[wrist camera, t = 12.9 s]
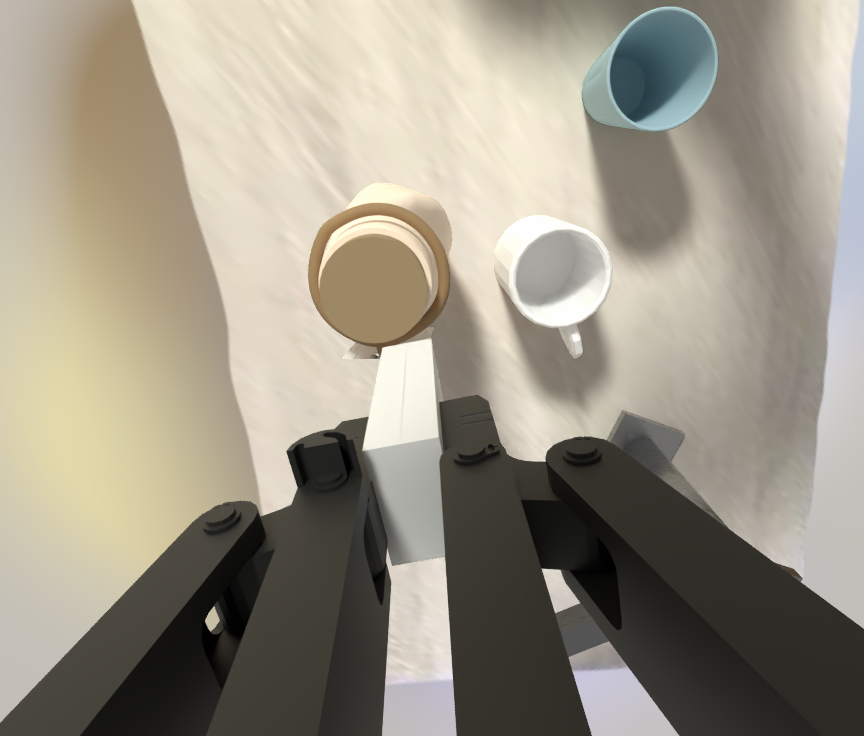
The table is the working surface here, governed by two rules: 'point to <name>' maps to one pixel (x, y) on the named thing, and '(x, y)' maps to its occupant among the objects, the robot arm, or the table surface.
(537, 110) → the table surface
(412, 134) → the table surface
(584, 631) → the bar
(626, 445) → the post
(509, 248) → the mug
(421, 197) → the water bottle
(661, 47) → the cup
